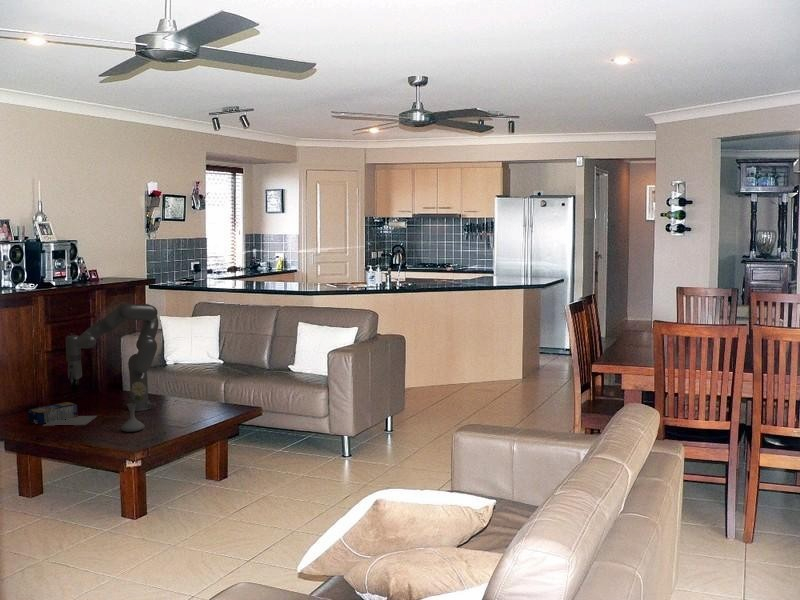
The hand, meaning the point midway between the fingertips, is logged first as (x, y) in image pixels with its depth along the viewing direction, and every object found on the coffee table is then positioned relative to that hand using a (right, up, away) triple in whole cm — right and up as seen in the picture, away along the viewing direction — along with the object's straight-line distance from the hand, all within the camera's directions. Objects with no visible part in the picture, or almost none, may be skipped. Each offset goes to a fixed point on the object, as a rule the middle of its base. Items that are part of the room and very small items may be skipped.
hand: (75, 391), depth 458 cm
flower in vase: (+42, -17, -30) cm, 54 cm away
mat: (+1, -15, -9) cm, 17 cm away
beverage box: (-3, -10, +3) cm, 11 cm away
